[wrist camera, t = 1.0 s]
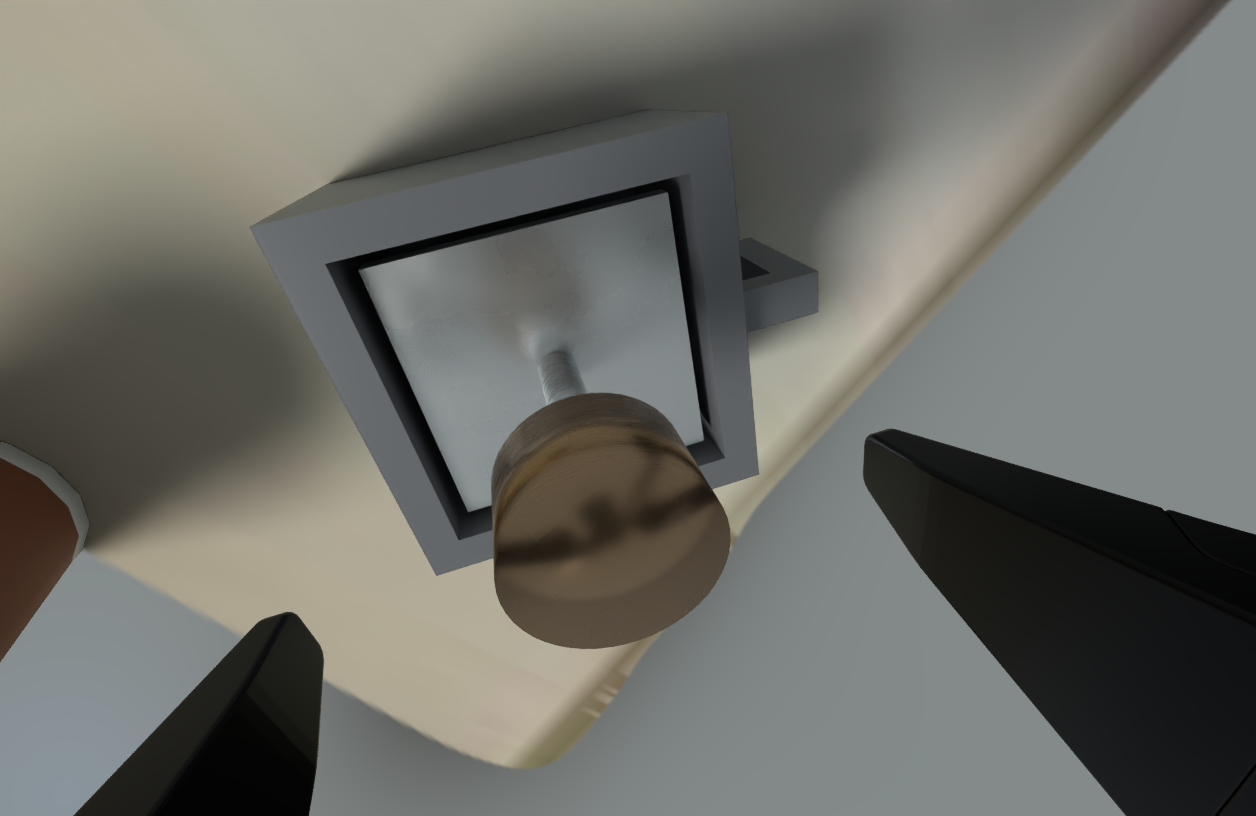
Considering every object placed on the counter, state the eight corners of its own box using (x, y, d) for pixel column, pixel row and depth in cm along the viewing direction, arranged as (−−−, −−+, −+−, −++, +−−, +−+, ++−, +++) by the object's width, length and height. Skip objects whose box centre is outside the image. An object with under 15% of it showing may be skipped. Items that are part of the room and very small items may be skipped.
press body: (722, 92, 18) (834, 87, 12) (746, 366, 23) (833, 450, 17) (326, 184, 16) (249, 227, 11) (446, 453, 22) (436, 575, 16)
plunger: (660, 188, 13) (838, 273, 7) (697, 430, 17) (835, 637, 11) (363, 263, 13) (238, 440, 6) (468, 499, 16) (463, 769, 10)
